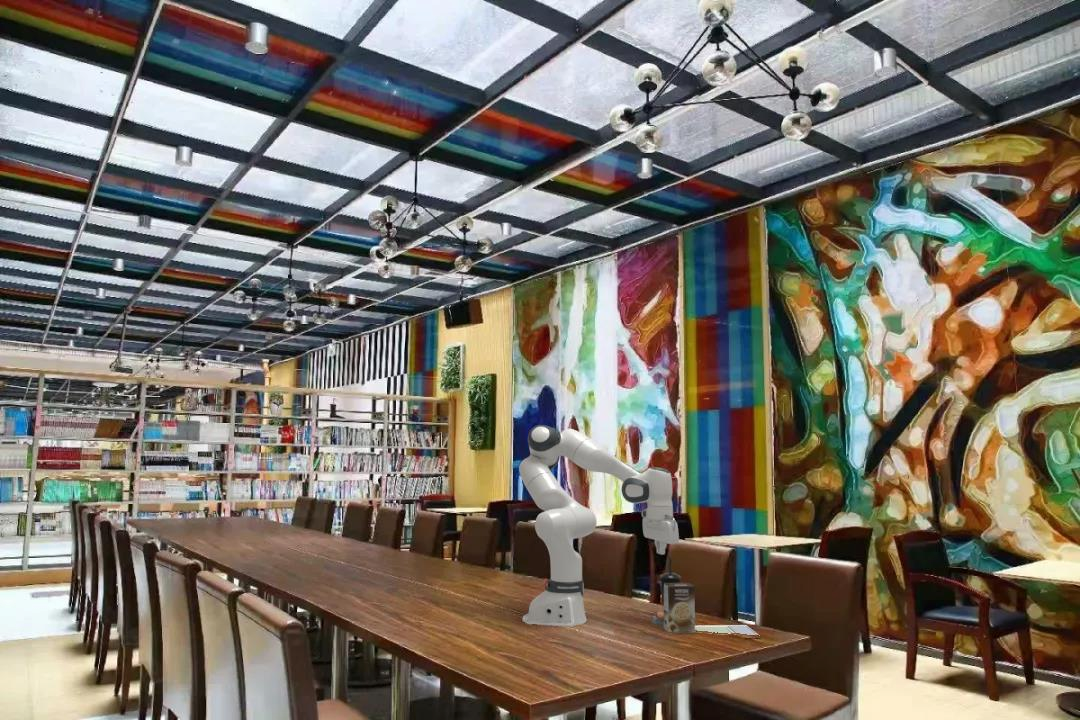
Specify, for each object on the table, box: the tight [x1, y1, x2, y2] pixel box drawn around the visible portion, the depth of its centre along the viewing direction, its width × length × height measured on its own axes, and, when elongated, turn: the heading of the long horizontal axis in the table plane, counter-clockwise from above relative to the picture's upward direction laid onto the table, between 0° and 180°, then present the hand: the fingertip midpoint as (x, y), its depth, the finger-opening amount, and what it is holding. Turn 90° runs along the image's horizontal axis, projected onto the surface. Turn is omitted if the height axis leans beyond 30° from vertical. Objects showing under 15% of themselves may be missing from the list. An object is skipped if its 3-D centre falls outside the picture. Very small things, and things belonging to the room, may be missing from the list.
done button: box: [656, 611, 664, 619], centre depth 255 cm, size 3×3×2 cm
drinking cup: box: [659, 557, 682, 606], centre depth 273 cm, size 8×8×20 cm
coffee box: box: [663, 582, 696, 634], centre depth 246 cm, size 9×6×16 cm
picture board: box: [695, 624, 759, 635], centre depth 246 cm, size 20×15×1 cm
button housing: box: [651, 615, 664, 627], centre depth 255 cm, size 6×6×3 cm
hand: (660, 553), depth 257 cm, fingers closed
